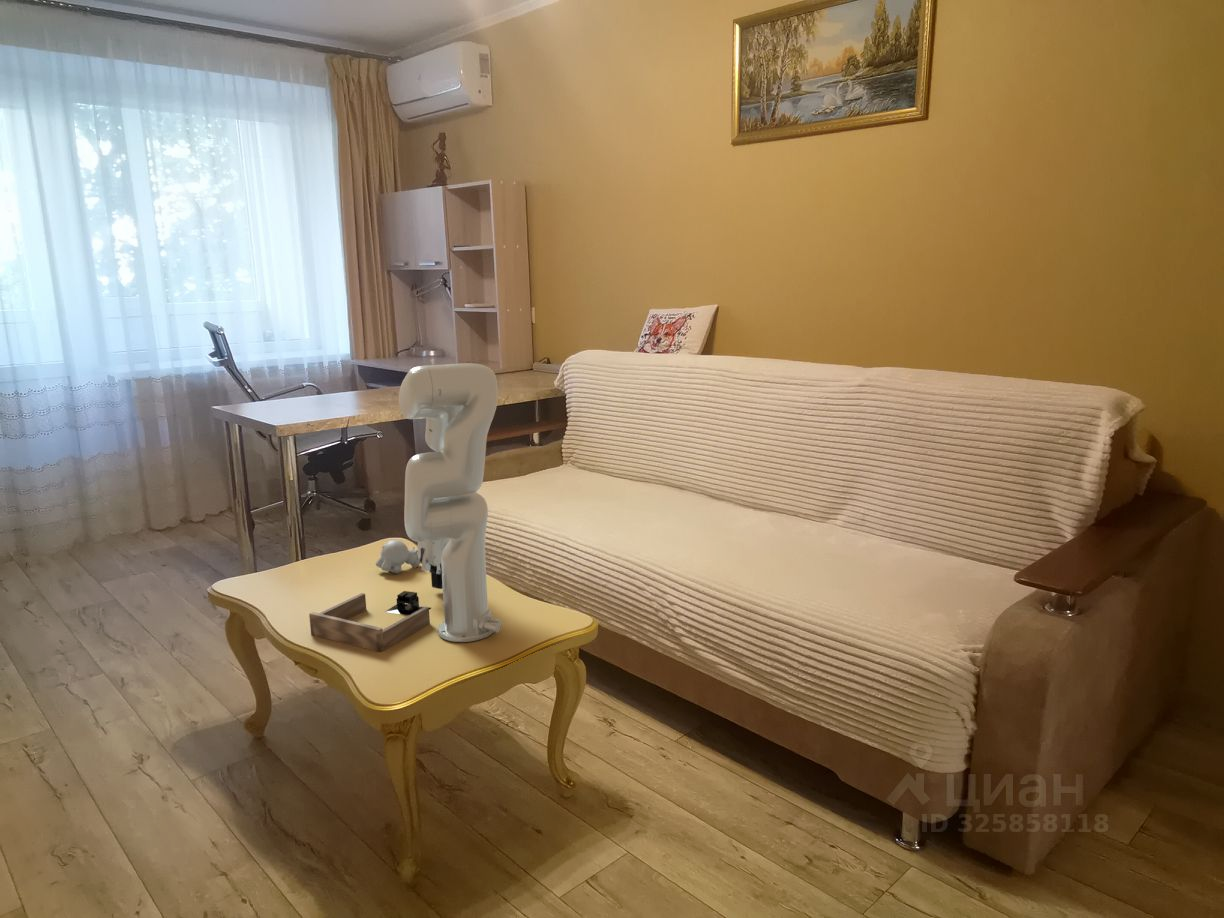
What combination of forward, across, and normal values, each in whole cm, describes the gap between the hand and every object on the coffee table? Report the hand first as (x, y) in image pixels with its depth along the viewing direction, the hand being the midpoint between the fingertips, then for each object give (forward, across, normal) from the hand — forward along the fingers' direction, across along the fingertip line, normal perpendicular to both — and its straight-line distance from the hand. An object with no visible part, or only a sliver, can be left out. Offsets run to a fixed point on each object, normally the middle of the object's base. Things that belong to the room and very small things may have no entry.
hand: (439, 587), depth 200 cm
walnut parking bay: (+2, -23, 0) cm, 23 cm away
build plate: (+2, -12, 0) cm, 12 cm away
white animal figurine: (+2, +9, +20) cm, 22 cm away
